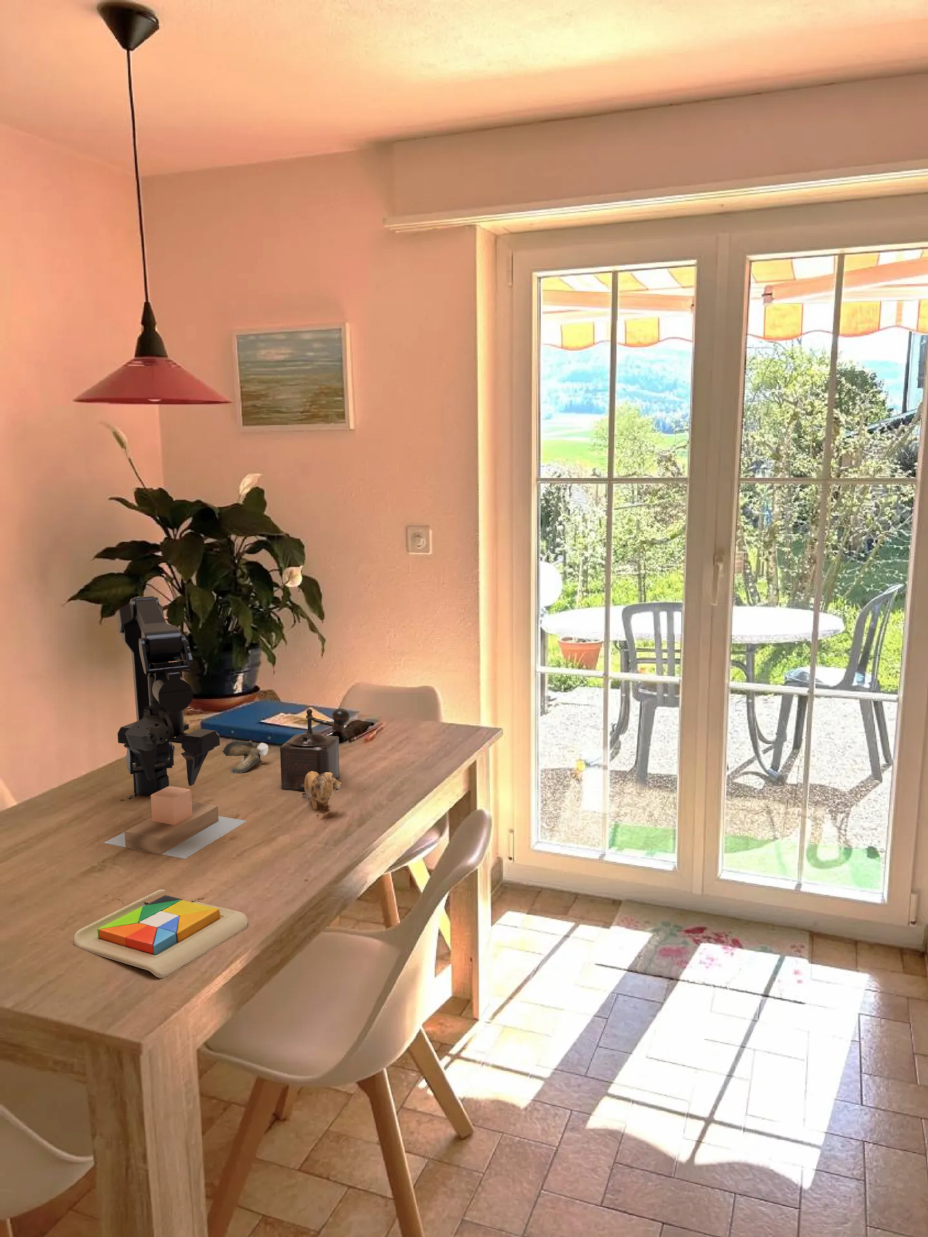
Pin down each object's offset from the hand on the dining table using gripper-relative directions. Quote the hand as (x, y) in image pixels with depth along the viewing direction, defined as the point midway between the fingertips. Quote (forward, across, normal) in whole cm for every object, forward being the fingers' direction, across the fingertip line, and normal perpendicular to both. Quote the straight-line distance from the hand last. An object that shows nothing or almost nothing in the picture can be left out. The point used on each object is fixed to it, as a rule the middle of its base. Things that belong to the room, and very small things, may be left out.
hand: (170, 782), depth 163 cm
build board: (+11, 0, +1) cm, 11 cm away
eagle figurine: (+11, -12, +40) cm, 43 cm away
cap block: (+7, 0, 0) cm, 7 cm away
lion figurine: (+12, +17, +24) cm, 31 cm away
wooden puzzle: (+12, +21, -28) cm, 37 cm away
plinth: (+10, 0, 0) cm, 10 cm away
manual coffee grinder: (+11, +10, +36) cm, 39 cm away
